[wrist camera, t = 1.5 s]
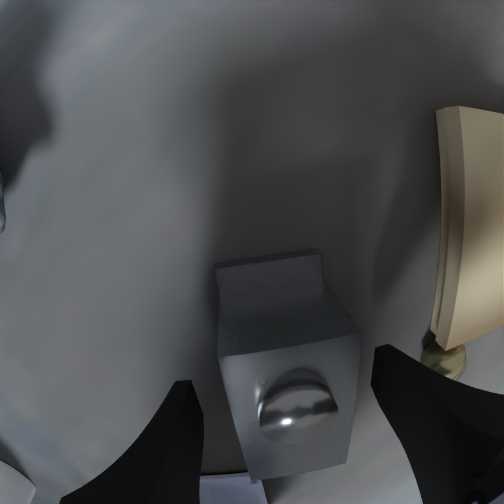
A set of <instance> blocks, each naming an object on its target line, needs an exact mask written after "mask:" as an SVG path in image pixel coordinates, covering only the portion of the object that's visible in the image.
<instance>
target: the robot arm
mask: <svg viewBox="0 0 504 504" xmlns="http://www.w3.org/2000/svg"><path fill="white" fill-rule="evenodd" d="M371 387H372V389H373V392H374V394H375V397H376V399H377V401H378V404H379V406H380V407H381V409H382V411H383V413H384V414H385V416H386V418H387V420H388V421H389V423H390V425H391V426H392V428H393V430H394V431H395V433H396V435H397V437H398V438H399V440H400V442H401V444H402V446H403V448H404V450H405V452H406V455H407V457H408V459H409V462H410V464H411V467H412V470H413V473H414V475H415V478H416V481H417V484H418V488H419V491H420V494H421V498H422V501H423V504H504V395H503V394H497V393H492V392H488V391H484V390H481V389H477V388H474V387H471V386H468V385H465V384H463V383H460V382H457V381H455V380H453V379H450V378H448V377H446V376H444V375H442V374H440V373H438V372H436V371H434V370H432V369H430V368H429V367H427V366H425V365H423V364H422V363H420V362H418V361H416V360H415V359H413V358H411V357H410V356H408V355H406V354H405V353H403V352H402V351H400V350H398V349H397V348H395V347H393V346H391V345H390V344H386V345H383V346H379V347H376V348H375V354H374V362H373V370H372V378H371ZM203 442H204V422H203V413H202V410H201V407H200V404H199V401H198V399H197V396H196V393H195V390H194V387H193V384H192V381H191V380H184V381H176V382H175V383H174V384H173V386H172V388H171V389H170V391H169V393H168V394H167V396H166V398H165V399H164V401H163V402H162V404H161V406H160V407H159V409H158V410H157V412H156V413H155V415H154V416H153V418H152V419H151V421H150V422H149V424H148V425H147V426H146V428H145V429H144V430H143V431H142V433H141V434H140V435H139V437H138V438H137V439H136V440H135V442H134V443H133V444H132V445H131V446H130V447H129V448H128V449H127V450H126V451H125V453H124V454H123V455H122V456H121V457H119V458H118V459H117V460H116V461H115V462H114V463H113V464H112V465H111V466H110V467H108V468H107V469H106V470H105V471H104V472H102V473H101V474H100V475H98V476H97V477H96V478H94V479H93V480H91V481H90V482H88V483H87V484H85V485H84V486H82V487H81V488H79V489H77V490H75V491H73V492H72V493H70V494H68V495H66V496H64V497H62V498H61V500H60V503H59V504H268V503H267V499H266V496H265V492H264V488H263V484H262V480H256V481H251V479H250V476H249V472H246V473H236V474H225V475H209V476H200V474H201V463H202V453H203Z"/></svg>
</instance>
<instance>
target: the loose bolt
mask: <svg viewBox="0 0 504 504" xmlns="http://www.w3.org/2000/svg"><path fill="white" fill-rule="evenodd" d="M420 362H421V363H422V364H423V365H425V366H427V367H429V368H430V369H432V370H434V371H436V372H438V373H440V374H442V375H444V376H446V377H448V378H450V379H453V380H455V381H457V382H458V380H457V378H459V377H460V376H461V374H462V373H463V372H464V370H465V367H466V353H465V347H464V344H461V345H459V346H456V347H454V348H451V349H449V350H446V351H445V350H444V349H443V348H442V347H441V346H440V345H439V344H438V343H437V342H436V341H435V340H433V341H432V342H430V343H429V344H428V345H427V346H426V347H425V349H424V350H423V352H422V354H421V359H420Z"/></svg>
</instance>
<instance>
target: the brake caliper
mask: <svg viewBox="0 0 504 504" xmlns="http://www.w3.org/2000/svg"><path fill="white" fill-rule="evenodd" d="M3 183H4V180H3V176H2V173H1V169H0V233H2V232H3V230H4V228H5V221H6V215H5V207H4V199H3V192H2V189H3Z"/></svg>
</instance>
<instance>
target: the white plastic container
mask: <svg viewBox="0 0 504 504" xmlns="http://www.w3.org/2000/svg"><path fill="white" fill-rule="evenodd" d="M35 490H36V488H35V486H34V485H33V483H32V482H30V481H29V480H28V479H27V478H26V477H25V476H23V475H22V474H21V473H20V472H18V471H17V470H15V469H14V468H13V467H11V466H9V465H8V464H6V463H4V462H2V461H0V504H30V503H31V500H32V498H33V495H34V493H35Z"/></svg>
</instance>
